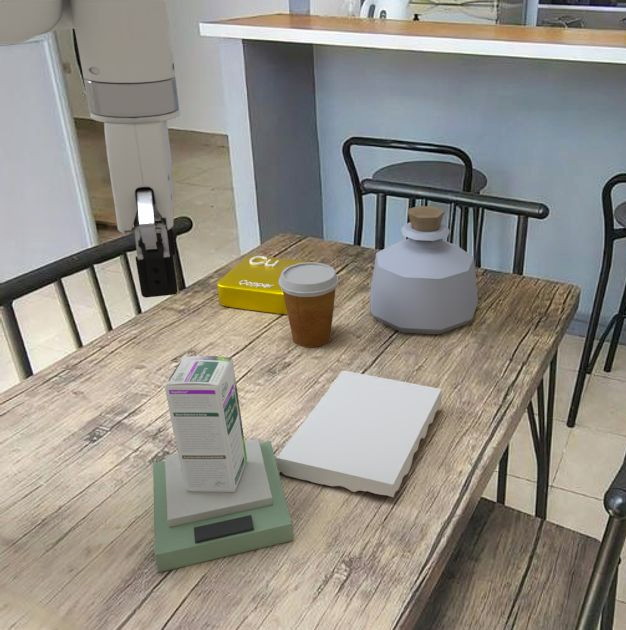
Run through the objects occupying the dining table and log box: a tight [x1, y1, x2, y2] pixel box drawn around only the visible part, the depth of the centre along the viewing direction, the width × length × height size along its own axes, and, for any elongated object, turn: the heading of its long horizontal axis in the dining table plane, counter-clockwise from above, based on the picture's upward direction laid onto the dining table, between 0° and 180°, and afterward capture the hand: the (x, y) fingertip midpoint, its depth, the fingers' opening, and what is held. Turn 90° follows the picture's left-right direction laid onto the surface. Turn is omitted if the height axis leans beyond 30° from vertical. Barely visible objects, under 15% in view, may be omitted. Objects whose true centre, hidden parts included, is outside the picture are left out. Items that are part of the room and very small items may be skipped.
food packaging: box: [276, 370, 443, 498], centre depth 90 cm, size 15×3×20 cm
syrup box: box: [164, 355, 247, 492], centre depth 75 cm, size 6×6×14 cm
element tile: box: [216, 254, 309, 315], centre depth 128 cm, size 15×15×5 cm
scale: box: [152, 438, 294, 573], centre depth 78 cm, size 14×15×4 cm
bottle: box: [368, 205, 479, 335], centre depth 120 cm, size 20×20×19 cm
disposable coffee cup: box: [278, 261, 339, 348], centre depth 111 cm, size 10×10×12 cm
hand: (159, 274), depth 68 cm, fingers open, 9 cm apart
